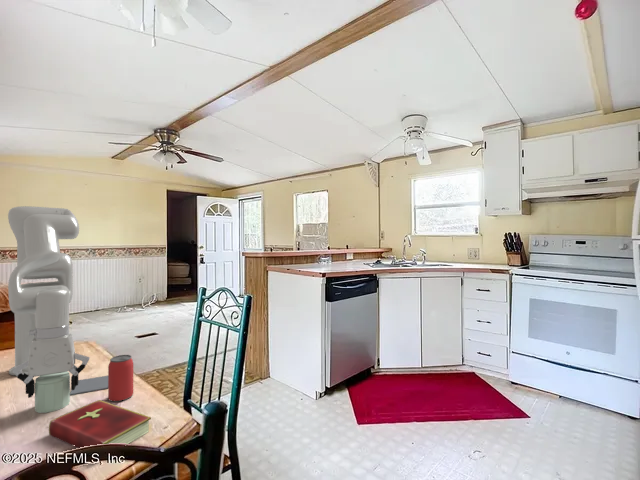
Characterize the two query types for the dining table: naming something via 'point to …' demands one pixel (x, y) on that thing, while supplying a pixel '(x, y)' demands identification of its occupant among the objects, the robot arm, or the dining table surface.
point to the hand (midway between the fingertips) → (53, 391)
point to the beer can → (120, 378)
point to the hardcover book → (99, 425)
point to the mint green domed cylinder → (52, 392)
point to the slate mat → (90, 385)
